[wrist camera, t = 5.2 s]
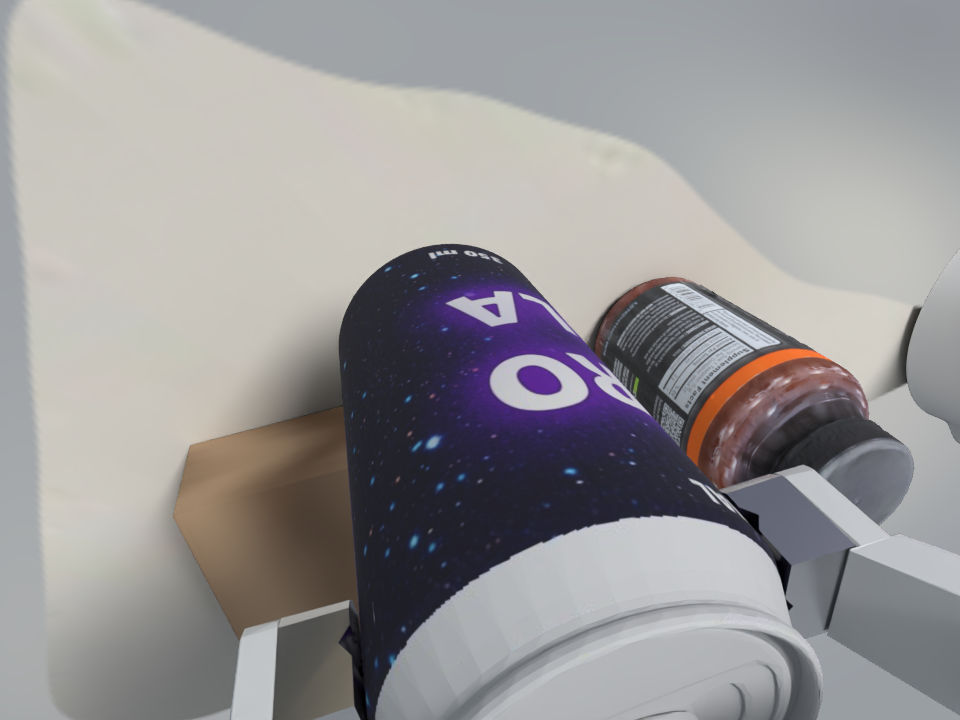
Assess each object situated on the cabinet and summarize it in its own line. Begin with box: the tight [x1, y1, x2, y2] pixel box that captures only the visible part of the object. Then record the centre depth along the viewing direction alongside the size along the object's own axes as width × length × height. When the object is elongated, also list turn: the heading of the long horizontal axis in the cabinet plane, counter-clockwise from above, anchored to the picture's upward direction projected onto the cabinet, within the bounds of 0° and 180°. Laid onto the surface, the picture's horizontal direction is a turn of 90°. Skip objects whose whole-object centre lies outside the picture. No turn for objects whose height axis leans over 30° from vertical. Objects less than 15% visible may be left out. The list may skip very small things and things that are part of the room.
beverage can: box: [339, 244, 823, 720], centre depth 12 cm, size 6×6×12 cm
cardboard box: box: [173, 406, 360, 641], centre depth 24 cm, size 9×9×4 cm
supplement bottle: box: [595, 277, 914, 526], centre depth 22 cm, size 6×6×11 cm
